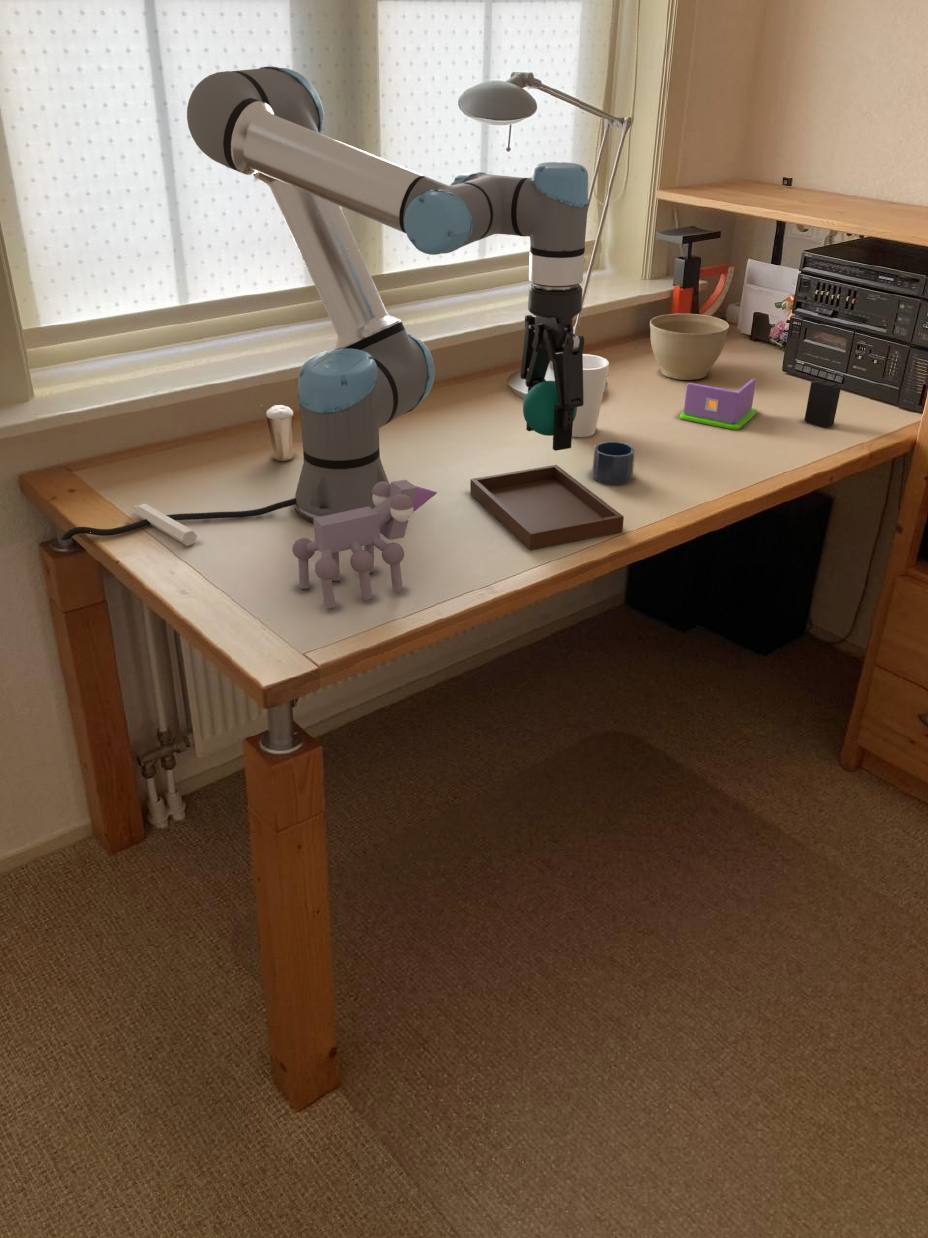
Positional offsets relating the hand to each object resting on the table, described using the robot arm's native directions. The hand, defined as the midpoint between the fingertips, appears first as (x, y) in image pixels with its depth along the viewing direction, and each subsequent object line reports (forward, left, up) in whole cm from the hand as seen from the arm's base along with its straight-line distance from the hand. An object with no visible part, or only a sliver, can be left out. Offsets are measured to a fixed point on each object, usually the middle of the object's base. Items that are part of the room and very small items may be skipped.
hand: (548, 438), depth 159 cm
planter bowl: (+59, +50, -12) cm, 78 cm away
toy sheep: (-32, -11, -12) cm, 36 cm away
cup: (+17, +8, -12) cm, 22 cm away
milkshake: (-32, +37, -12) cm, 51 cm away
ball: (0, 0, +5) cm, 5 cm away
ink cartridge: (+66, +15, -12) cm, 69 cm away
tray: (0, 0, -12) cm, 12 cm away
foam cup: (+22, +29, -12) cm, 38 cm away
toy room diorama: (+51, +26, -12) cm, 58 cm away
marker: (-56, +17, -12) cm, 60 cm away
